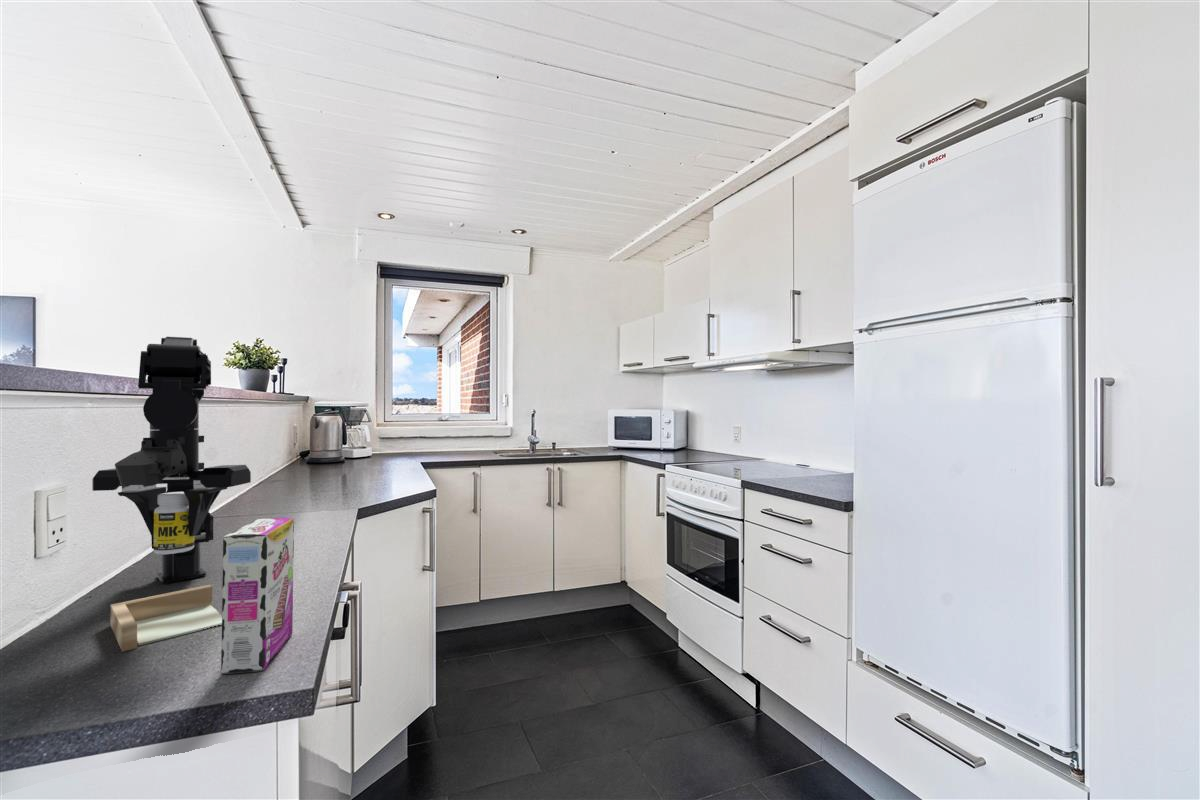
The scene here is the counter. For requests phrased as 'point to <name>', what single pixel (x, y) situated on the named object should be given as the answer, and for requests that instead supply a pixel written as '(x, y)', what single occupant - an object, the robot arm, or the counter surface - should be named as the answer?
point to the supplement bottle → (172, 524)
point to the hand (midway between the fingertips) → (174, 536)
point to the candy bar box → (256, 594)
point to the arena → (163, 616)
